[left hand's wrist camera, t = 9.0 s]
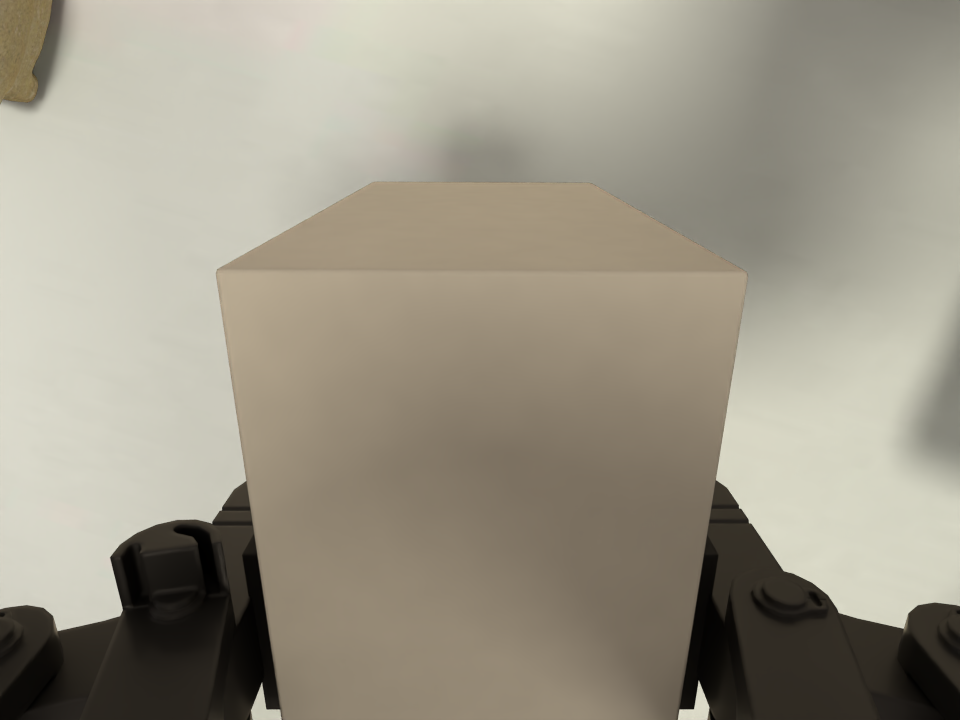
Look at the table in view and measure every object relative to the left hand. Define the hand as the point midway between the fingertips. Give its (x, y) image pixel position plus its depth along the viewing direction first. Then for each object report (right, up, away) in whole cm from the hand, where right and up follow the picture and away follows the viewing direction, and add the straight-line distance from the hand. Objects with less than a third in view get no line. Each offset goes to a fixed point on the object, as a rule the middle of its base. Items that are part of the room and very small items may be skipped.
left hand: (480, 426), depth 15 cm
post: (0, -21, +9) cm, 23 cm away
